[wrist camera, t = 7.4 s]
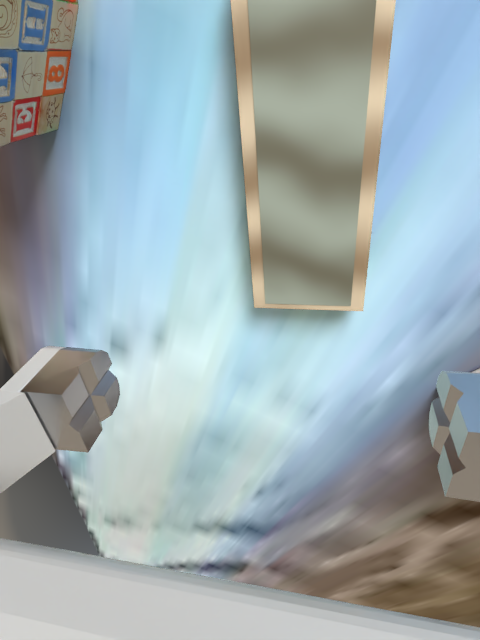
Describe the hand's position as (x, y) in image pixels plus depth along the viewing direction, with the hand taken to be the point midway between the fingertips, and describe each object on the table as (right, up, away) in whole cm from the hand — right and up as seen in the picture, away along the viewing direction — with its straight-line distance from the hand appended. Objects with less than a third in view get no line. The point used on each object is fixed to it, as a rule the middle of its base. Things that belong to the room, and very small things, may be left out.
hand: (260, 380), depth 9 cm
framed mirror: (+5, +14, +20) cm, 25 cm away
